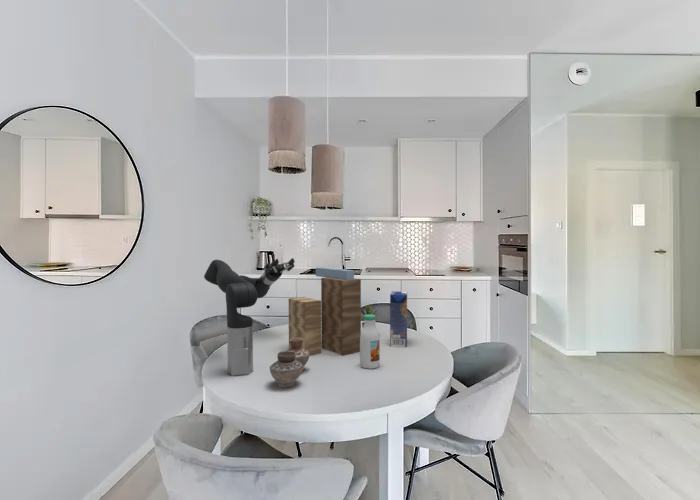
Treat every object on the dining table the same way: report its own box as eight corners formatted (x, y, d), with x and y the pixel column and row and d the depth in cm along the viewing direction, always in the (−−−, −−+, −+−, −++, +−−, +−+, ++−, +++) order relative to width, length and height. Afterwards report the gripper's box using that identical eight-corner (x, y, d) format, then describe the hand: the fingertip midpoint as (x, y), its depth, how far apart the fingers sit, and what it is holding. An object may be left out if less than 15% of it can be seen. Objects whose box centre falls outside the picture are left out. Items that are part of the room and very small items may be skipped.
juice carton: (406, 347, 179) (406, 295, 178) (390, 346, 180) (390, 294, 180) (407, 340, 191) (407, 291, 190) (391, 339, 192) (391, 291, 191)
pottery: (313, 366, 152) (313, 336, 152) (299, 391, 127) (299, 355, 127) (284, 365, 153) (284, 335, 153) (265, 390, 128) (265, 354, 128)
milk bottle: (363, 370, 148) (363, 317, 147) (357, 363, 155) (357, 313, 155) (382, 368, 150) (382, 316, 150) (375, 362, 157) (375, 312, 157)
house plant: (350, 332, 207) (349, 302, 207) (374, 330, 211) (374, 300, 211) (358, 339, 194) (358, 306, 193) (384, 337, 198) (384, 304, 197)
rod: (354, 279, 170) (354, 270, 170) (346, 280, 168) (346, 270, 168) (322, 275, 189) (322, 267, 189) (315, 276, 187) (315, 267, 186)
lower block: (321, 353, 170) (321, 300, 169) (305, 356, 165) (305, 302, 164) (303, 346, 181) (303, 296, 180) (288, 349, 176) (288, 298, 175)
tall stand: (360, 351, 172) (360, 279, 172) (343, 355, 166) (342, 280, 165) (338, 343, 185) (338, 276, 184) (321, 347, 179) (321, 277, 178)
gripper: (256, 268, 194) (270, 253, 183) (282, 267, 203) (296, 252, 192) (260, 282, 192) (274, 268, 181) (285, 280, 201) (300, 266, 190)
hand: (285, 260), depth 186 cm, fingers open, 8 cm apart
